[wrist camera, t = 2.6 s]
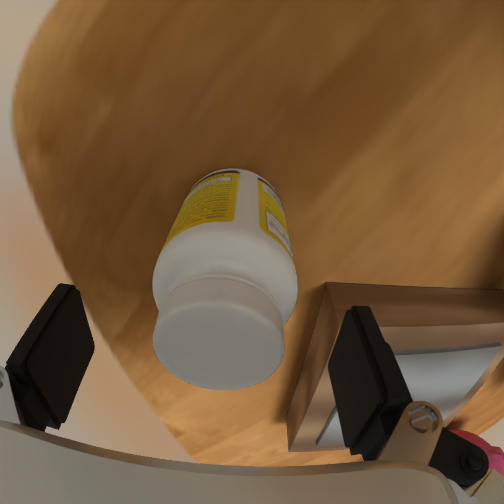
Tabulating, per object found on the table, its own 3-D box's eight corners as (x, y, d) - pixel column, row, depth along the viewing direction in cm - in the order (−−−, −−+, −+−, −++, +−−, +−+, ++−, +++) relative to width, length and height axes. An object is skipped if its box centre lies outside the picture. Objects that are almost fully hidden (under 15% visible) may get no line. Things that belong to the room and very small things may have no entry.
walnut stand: (326, 282, 20) (341, 331, 16) (502, 289, 21) (529, 324, 17) (286, 416, 28) (288, 455, 24) (427, 405, 29) (439, 438, 25)
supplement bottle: (173, 239, 18) (120, 375, 10) (202, 151, 16) (143, 249, 7) (260, 268, 19) (265, 413, 11) (300, 188, 17) (344, 313, 8)
